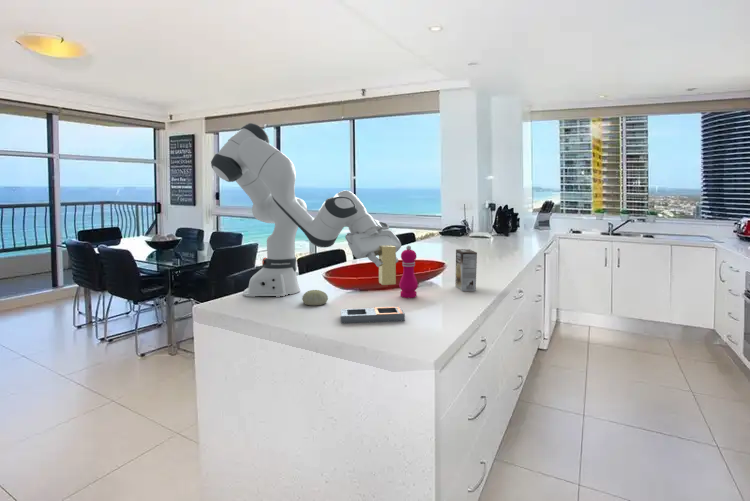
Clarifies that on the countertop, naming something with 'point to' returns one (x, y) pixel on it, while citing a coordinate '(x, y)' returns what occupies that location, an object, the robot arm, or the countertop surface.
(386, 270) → the brass block
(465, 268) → the coffee box
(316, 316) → the countertop surface
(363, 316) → the grey slotted board
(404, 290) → the pepper mill
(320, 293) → the sea urchin shell
